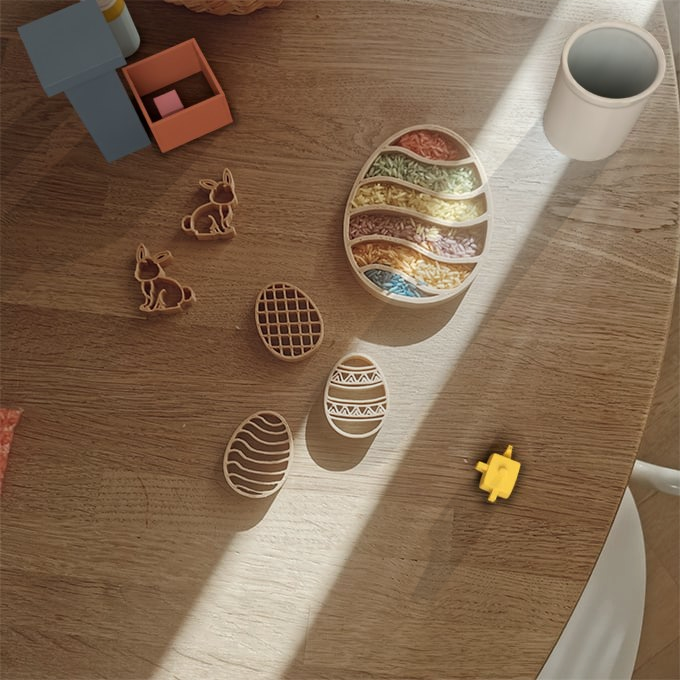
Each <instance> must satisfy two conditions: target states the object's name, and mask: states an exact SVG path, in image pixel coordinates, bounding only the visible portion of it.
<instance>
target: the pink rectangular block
mask: <svg viewBox="0 0 680 680" xmlns="http://www.w3.org/2000/svg"><path fill="white" fill-rule="evenodd" d="M153 102H154V104H155V106H156V109H157V110H158V112H159V114H160V117H161V119H164V118H166V117H168V116H170V115H173V114H175V113H177V112H180V111H182V110H184V109H185V107H184V105H183V103H182V101H181V99H180V97H179V94H178V93H177V90H176V89H172V90H170V91H168V92H166V93H164V94H163V93H162V94H161V95H159V96H156V97H154V98H153Z"/></svg>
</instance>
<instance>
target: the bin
mask: <svg viewBox="0 0 680 680" xmlns="http://www.w3.org/2000/svg"><path fill="white" fill-rule="evenodd" d="M121 71H122V73H123V75H124V77H125V79H126V81H127V83H128V86H129V88H130V90H131V91H132V94H133V95H134V96H133V97H134V98H135V100H136V102H137V104H138V106H139V108H140V110H141V112H142V115H143V116H144V118H145V120H146V122H147V124H148V126H149V128H150V131H151V133H152V134H153V137H154V139H155V141H156V143H157V145H158V147H159V149H160V151H161V153H162V154H165V153H166V152H169V151H171V150H173V149H175V148H177V147H180V146H182V145H185V144H187V143H188V142H191V141H193V140H196V139H198V138H201V137H202V136H205V135H208V134H209V133H211V132H214V131H216V130H218V129H221V128H223V127H224V126H225V127H226V126H228V125H230V124H231V123H232V124H233V122H234V120H233V117H232V114H231V110H230V107H229V103H228V101H227V98H226V94H225V93H224V91H223V88H222V86H221V85H220V83H219V82H218V79H217V78H216V76H215V74H214V72H213V71H212V68H211V66H210V65H209V62H208V61H207V60H206V57H205V56H204V54H203V52H202V50H201V48H200V46H199V45H198V43H197V41H196V39H195V38H194V37H192V38H190V39H188V40H185V41H183V42H181V43H178V44H176V45H173V46H171V47H169V48H167V49H164V50H162V51H159V52H158V53H154V54H153V55H150V56H148V57H146V58H143V59H141V60H138V61H136V62H134V63H131V64H129V65H127V66H125V67H121ZM199 72H202V74H203V75H204V77H205V80H206V81H207V83H208V85H209V87H210V88H211V90H212V93H213V95H214V96H212V97H209V98H206V99H205V100H202V101H199V102H198V103H196V104H193V105H191V106H189V107H187V108H184V110H182V111H180V112H177V113H175V114H173V115H170V116H168V117H166V118H164V119H162V118H161V119H159V120H157V121H154V122H153V121H152V119H151V117H150V116H149V114H148V112H147V110H146V108H145V106H144V103H143V101H142V99H141V98H142V97H144V96H146V95H148V94H151V93H153V92H156V91H158V90H160V89H163V88H165V87H167V86H169V85H172V84H175V83H177V82H178V81H182V80H183V79H185V78H186V79H187V78H188V77H190V76H193V75H194V74H197V73H199Z"/></svg>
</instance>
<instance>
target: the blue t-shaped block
mask: <svg viewBox="0 0 680 680" xmlns="http://www.w3.org/2000/svg"><path fill="white" fill-rule="evenodd" d="M16 30H17V32H18V34H19V36H20V37H19V38H20V39H21V41H22V43H23V46H24V48H25V50H26V53H27V55H28V58H29V60H30V62H31V65H32V67H33V69H34V71H35V73H36V76H37V78H38V80H39V83H40V85H41V87H42V89H43V91H44V92H45V94H46V95H47V97H48V98H51V97H53V96H56V95H58V94H61V93H62V92H63V93H64V95H65V96H66V98H67V100H68V101H69V103H70V104H71V106H72V107H73V109H74V110H75V112H76V114H77V115H78V117H79V118H80V120H81V122H82V123H83V125H84V126H85V128H86V130H87V131H88V133H89V135H90V137H91V138H92V140H93V141H94V143H95V144H96V146H97V148H98V149H99V151H100V152H101V154H102V155H103V157H104V159H105V160H106V162H107V163H108V164H110V163H112V162H114V161H116V160H120V159H121V158H124V157H126V156H128V155H131V154H132V153H135V152H137V151H139V150H141V149H144V148H147V147H148V146H151V145H152V141H151V139H150V137H149V135H148V133H147V131H146V129H145V127H144V124H143V123H142V120H141V118H140V117H139V114H138V113H137V111H136V108H135V106H134V104H133V102H132V100H131V99H130V96H129V95H128V93H127V90H126V88H125V87H124V84H123V82H122V80H121V78H120V76H119V74H118V72H117V69H119V68H122V67H124V66H126V65H127V64H128V63H127V60H126V58H124V56H123V54H122V52H121V50H120V48H119V46H118V44H117V42H116V40H115V38H114V36H113V34H112V32H111V30H110V28H109V26H108V24H107V22H106V20H105V18H104V16H103V14H102V12H101V10H100V8H99V5H98V3H97V1H96V0H84V1H79V2H77V3H74V4H72V5H69V6H67V7H65V8H62V9H60V10H57V11H55V12H53V13H50V14H48V15H45V16H43V17H40V18H38V19H36V20H33V21H31V22H28V23H26V24H23V25H21V26H18V27H17V28H16Z"/></svg>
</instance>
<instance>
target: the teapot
mask: <svg viewBox="0 0 680 680" xmlns="http://www.w3.org/2000/svg"><path fill="white" fill-rule="evenodd" d="M513 447H514V446H512V445H510V444H509V445H508V446H507V448H506V449H505V451H504V452H503V454H502V455H501V454H498V453H495V452H494V453H492V454H491V455H490V456H489V458H488V460H487V461H486V463H485V462H482V461H478V462H477V463H476V464H475V467H474V469H475V470H477V471H478V472H480V473H482V474H481V478H480V480H479V485H478V487H479V489H481V490H483V491H486V492H488V493H489V495H488V497H487V501H489V502H491V503H495V501H496V500H497V497H500V498H502V499H508V498H509V497H510V495H511V493H512V491H513V489H514V487H515V485H516V482H517V478H518V475H519V471H520V468H521V462H519V461H517V460H513V459H512V453H513Z"/></svg>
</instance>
